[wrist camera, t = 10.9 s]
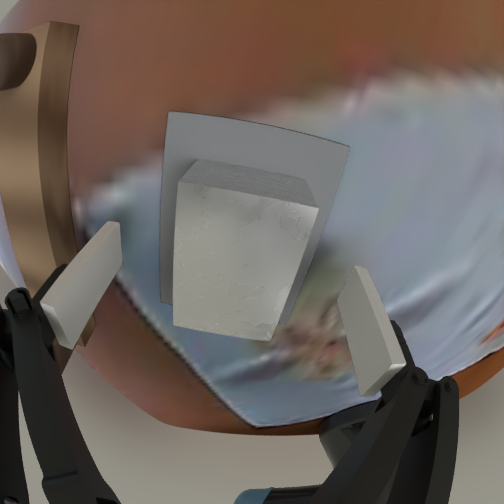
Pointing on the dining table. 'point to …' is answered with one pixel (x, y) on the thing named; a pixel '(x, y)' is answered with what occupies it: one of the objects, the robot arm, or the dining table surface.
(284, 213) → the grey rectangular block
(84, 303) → the robot arm
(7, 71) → the plane body
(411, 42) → the dining table surface
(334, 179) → the grey mat
